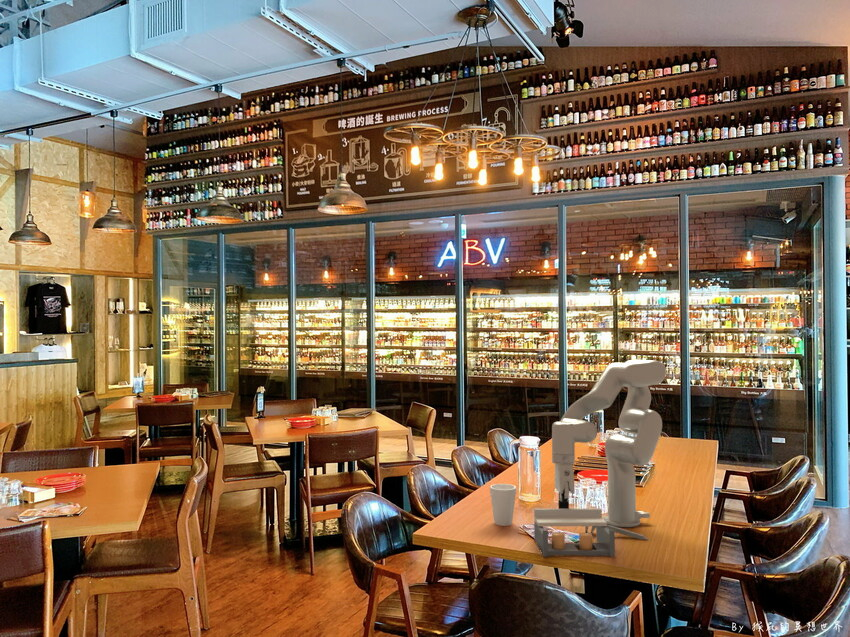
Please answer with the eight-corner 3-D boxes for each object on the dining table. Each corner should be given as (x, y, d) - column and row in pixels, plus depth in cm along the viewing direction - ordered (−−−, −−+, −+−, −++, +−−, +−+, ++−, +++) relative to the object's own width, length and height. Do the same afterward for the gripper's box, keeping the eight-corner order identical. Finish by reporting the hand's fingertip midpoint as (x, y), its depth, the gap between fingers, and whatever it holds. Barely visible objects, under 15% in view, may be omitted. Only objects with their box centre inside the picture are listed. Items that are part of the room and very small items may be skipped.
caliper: (585, 533, 216) (585, 515, 216) (585, 532, 217) (585, 514, 217) (648, 541, 208) (647, 521, 208) (648, 540, 209) (648, 521, 209)
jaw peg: (594, 554, 195) (593, 536, 195) (581, 554, 195) (581, 536, 195) (590, 549, 199) (590, 532, 199) (577, 550, 199) (577, 532, 199)
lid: (600, 519, 208) (600, 508, 208) (606, 526, 201) (606, 514, 201) (534, 519, 208) (534, 508, 208) (538, 526, 201) (538, 514, 201)
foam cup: (520, 521, 229) (520, 485, 229) (510, 528, 221) (510, 491, 221) (496, 517, 234) (496, 482, 234) (485, 524, 226) (485, 488, 226)
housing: (600, 540, 208) (600, 515, 208) (614, 556, 193) (614, 530, 193) (534, 540, 208) (534, 516, 208) (543, 556, 193) (543, 530, 193)
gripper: (579, 462, 207) (580, 519, 206) (569, 454, 222) (569, 506, 221) (556, 462, 207) (557, 519, 206) (548, 454, 222) (548, 506, 221)
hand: (563, 512), depth 214 cm, fingers closed
